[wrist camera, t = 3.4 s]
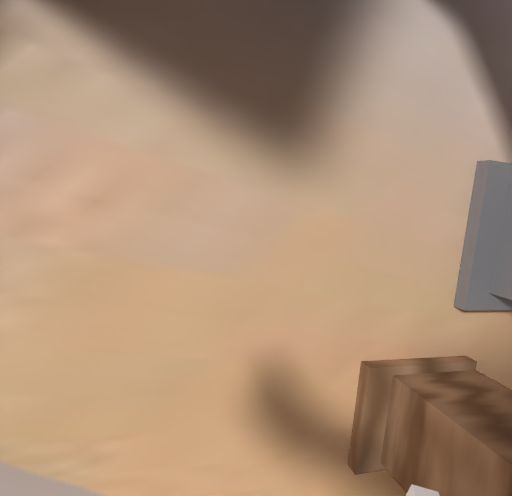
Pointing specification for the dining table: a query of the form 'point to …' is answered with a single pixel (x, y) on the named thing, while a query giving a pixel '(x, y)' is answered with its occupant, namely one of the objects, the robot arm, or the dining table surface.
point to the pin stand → (434, 426)
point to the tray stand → (488, 242)
